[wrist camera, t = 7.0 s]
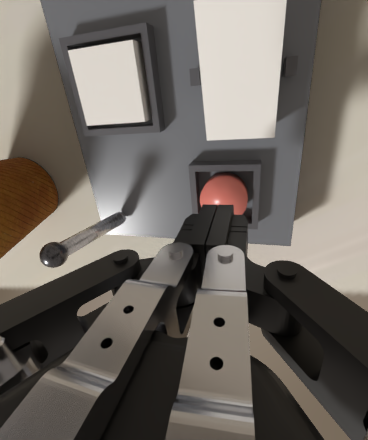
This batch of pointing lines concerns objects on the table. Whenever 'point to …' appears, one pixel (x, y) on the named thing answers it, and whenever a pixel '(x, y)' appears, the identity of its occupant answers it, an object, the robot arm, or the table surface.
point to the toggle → (78, 240)
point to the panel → (183, 120)
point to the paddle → (112, 83)
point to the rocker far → (240, 65)
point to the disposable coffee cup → (23, 200)
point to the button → (225, 192)
